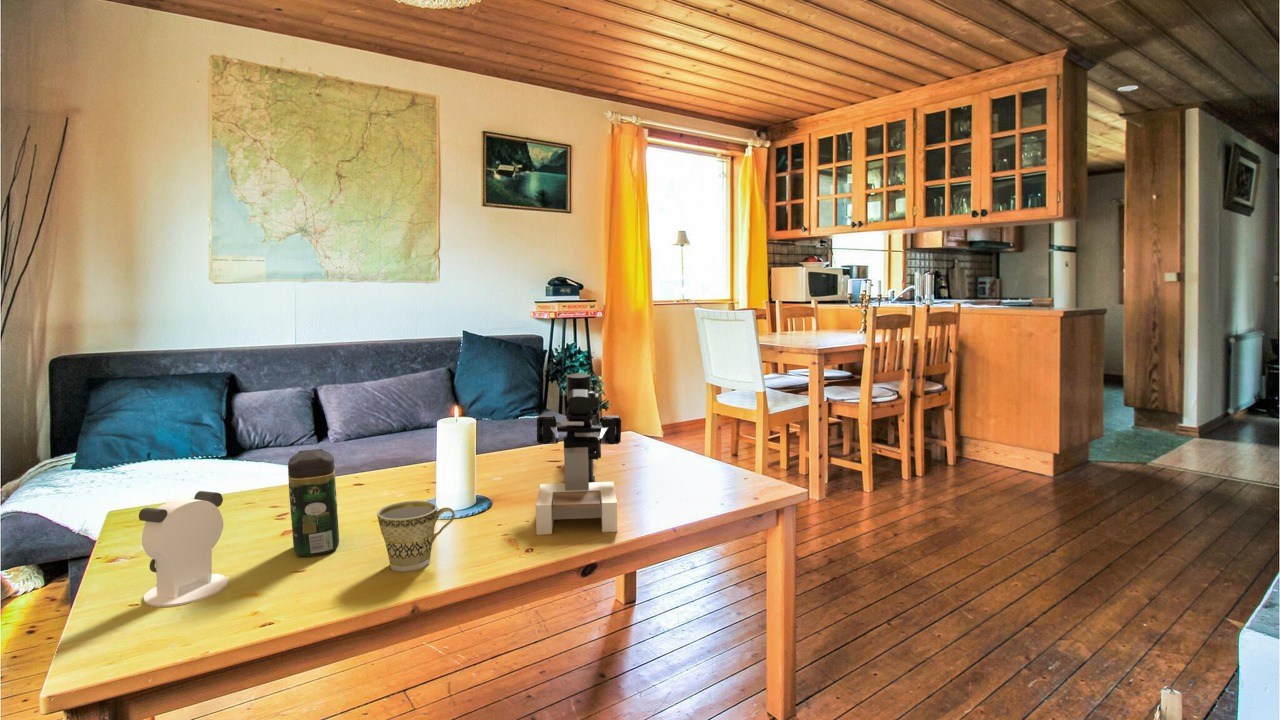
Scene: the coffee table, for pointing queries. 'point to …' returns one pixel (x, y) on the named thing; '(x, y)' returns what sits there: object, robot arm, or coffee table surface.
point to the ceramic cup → (410, 532)
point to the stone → (576, 469)
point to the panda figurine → (183, 549)
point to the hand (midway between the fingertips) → (578, 441)
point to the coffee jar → (313, 502)
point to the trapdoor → (576, 500)
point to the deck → (548, 514)
